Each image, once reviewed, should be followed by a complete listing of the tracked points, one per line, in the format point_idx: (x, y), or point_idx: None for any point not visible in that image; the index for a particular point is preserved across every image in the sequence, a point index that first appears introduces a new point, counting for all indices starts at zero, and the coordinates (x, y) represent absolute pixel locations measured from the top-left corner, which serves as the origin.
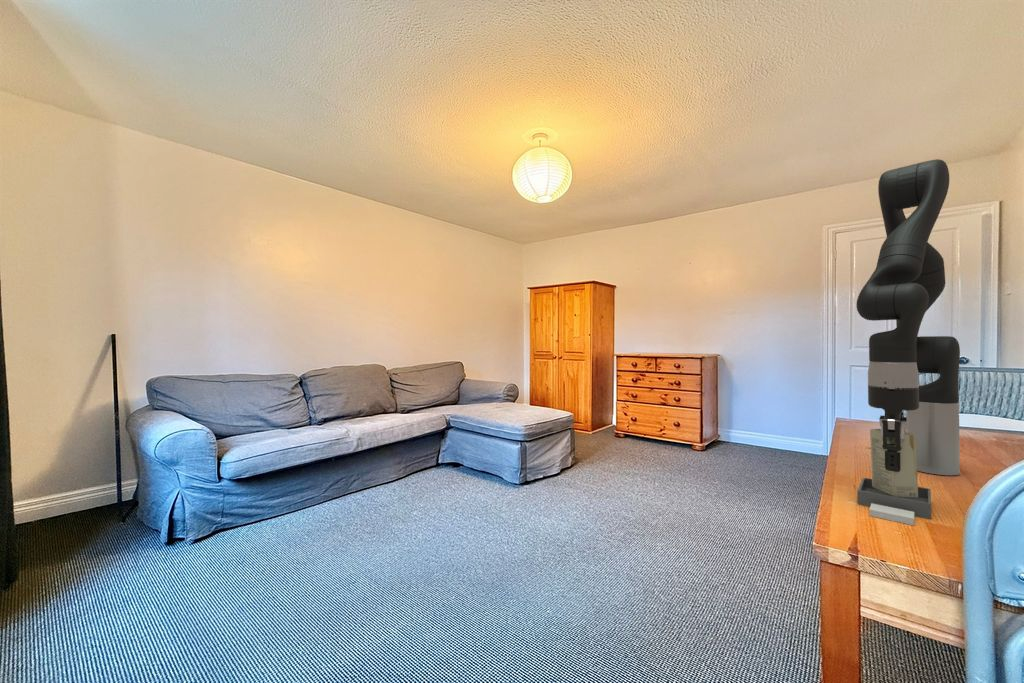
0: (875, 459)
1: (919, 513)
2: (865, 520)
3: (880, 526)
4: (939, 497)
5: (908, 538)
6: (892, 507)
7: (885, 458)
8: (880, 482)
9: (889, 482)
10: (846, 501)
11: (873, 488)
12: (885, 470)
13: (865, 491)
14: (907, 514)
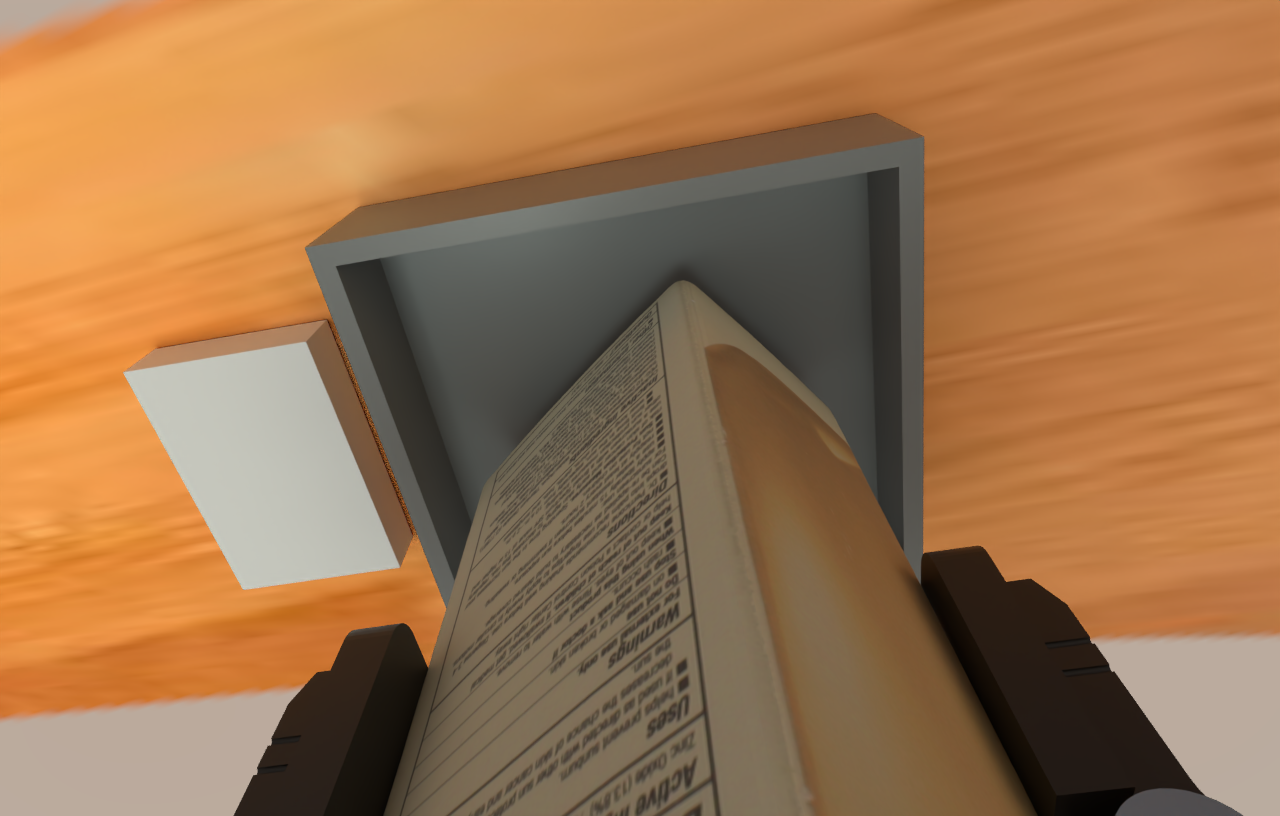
0: (630, 513)
1: None
2: (26, 354)
3: (23, 444)
4: (1088, 549)
5: (5, 576)
6: (357, 464)
7: (298, 761)
8: (586, 407)
9: (498, 516)
10: (344, 111)
11: (870, 219)
12: (510, 563)
13: (339, 312)
14: (290, 553)
